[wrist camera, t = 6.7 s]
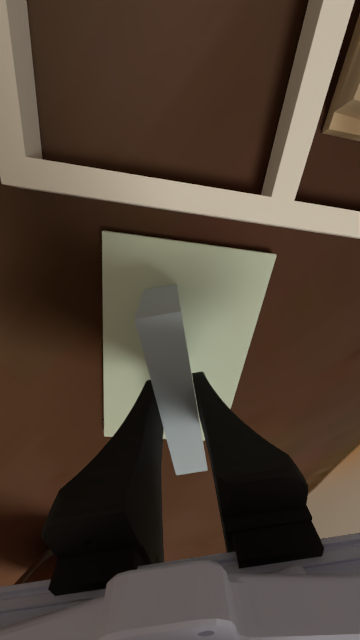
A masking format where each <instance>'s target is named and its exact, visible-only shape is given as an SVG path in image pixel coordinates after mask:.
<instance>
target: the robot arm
mask: <svg viewBox="0 0 360 640" xmlns="http://www.w3.org/2000/svg"><path fill="white" fill-rule="evenodd" d="M192 377H193V383H194V389H195V395H196V401H197V407H198V413H199V418H200V422H201V426H202V429H203V433H204V437H205V441H206V444H207V448H208V452H209V456H210V461H211V466H212V472H213V477H214V483H215V489H216V494H217V500H218V505H219V511H220V517H221V522H222V528H223V534H224V539H225V545H226V551H227V553H223V554H216V555H210V556H203V557H196V558H190V559H183V560H176V561H170V562H164V549H163V526H162V493H161V458H162V445H163V432H164V427H163V424H162V420H161V416H160V413H159V409H158V405H157V401H156V398H155V394H154V390H153V386H152V383H151V380H147V381H146V382H145V384H144V387H143V389H142V391H141V393H140V395H139V397H138V398H137V400H136V402H135V404H134V406H133V407H132V409H131V411H130V412H129V414H128V415H127V417H126V419H125V420H124V422H123V423H122V425H121V426H120V427H119V429H118V430H117V432H116V433H115V434H114V436H113V437H112V438H111V439H110V441H109V442H108V443H107V444H106V445H105V447H104V448H103V449H102V450H101V451H100V452H99V453H98V454H97V456H96V457H95V458H94V459H93V460H92V461H91V462H90V463H89V464H88V465H87V466H86V467H85V468H84V469H83V470H82V471H81V472H79V473H78V474H77V475H76V476H75V477H74V478H73V479H72V480H71V481H69V482H68V483H67V484H66V485H65V486H64V487H63V488H61V489H60V490H59V492H58V494H57V496H56V498H55V500H54V503H53V505H52V507H51V510H50V512H49V515H48V517H47V520H46V522H45V525H44V527H43V530H42V539H43V541H44V543H45V544H46V545H47V547H48V548H49V549H50V550H51V551H52V552H53V554H54V555H55V556H56V557H57V558H58V559H57V562H56V566H55V569H54V572H53V575H52V578H51V579H50V580H43V581H37V582H30V583H23V584H17V585H10V586H4V587H0V640H360V533H356V534H349V535H343V536H337V537H330V538H323V539H320V538H319V536H318V534H317V532H316V530H315V527H314V525H313V523H312V521H311V520H312V516H311V514H310V512H309V510H308V508H307V506H306V503H307V496H308V484H307V482H306V480H305V478H304V476H303V475H302V473H301V472H300V470H299V469H298V467H297V466H296V464H295V463H294V462H293V460H292V459H291V458H290V456H289V455H288V454H286V453H285V452H283V451H281V450H280V449H278V448H277V447H275V446H274V445H272V444H271V443H269V442H268V441H267V440H265V439H264V438H262V437H261V436H260V435H258V434H257V433H256V432H255V431H253V430H252V429H251V428H250V427H249V426H247V425H246V424H245V423H244V422H243V421H242V420H241V419H239V418H238V417H237V416H236V415H235V414H234V413H233V412H232V411H231V410H230V409H229V407H228V406H227V405H226V404H225V403H224V402H223V401H222V399H221V398H220V397H219V396H218V394H217V393H216V392H215V390H214V389H213V388H212V386H211V385H210V383H209V381H208V380H207V378H206V376H205V374H204V372H202V371H201V372H195V373H192Z"/></svg>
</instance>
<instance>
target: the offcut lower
mask: <svg viewBox="0 0 360 640" xmlns="http://www.w3.org/2000/svg"><path fill="white" fill-rule="evenodd" d="M359 41H360V14H359V17H358V20H357V23H356V26H355V29H354V33H353V36H352V39H351V42H350V45H349V48H348V51H347V55H346V58H345V61H344V64H343V67H342V70H341V74H340V77H339V80H338V83H337V86H336V89H335V92H334V96H333V99H332V102H331V105H330V108H329V111H328V114H327V118H326V121H325V124H324V127H323V130H322V133H323V134H328V135H333V136H338V137H342V138H347V139H352V140H357V141H360V119H357V118H353V117H350V116H346V115H343V114H339V113H336V112H334V110H335V108H336V105H337V102H338V99H339V97H340V94H341V91H342V88H343V85H344V83H345V80H346V77H347V74H348V72H349V69H350V66H351V63H352V61H353V58H354V55H355V52H356V49H357V47H358V44H359Z"/></svg>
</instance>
